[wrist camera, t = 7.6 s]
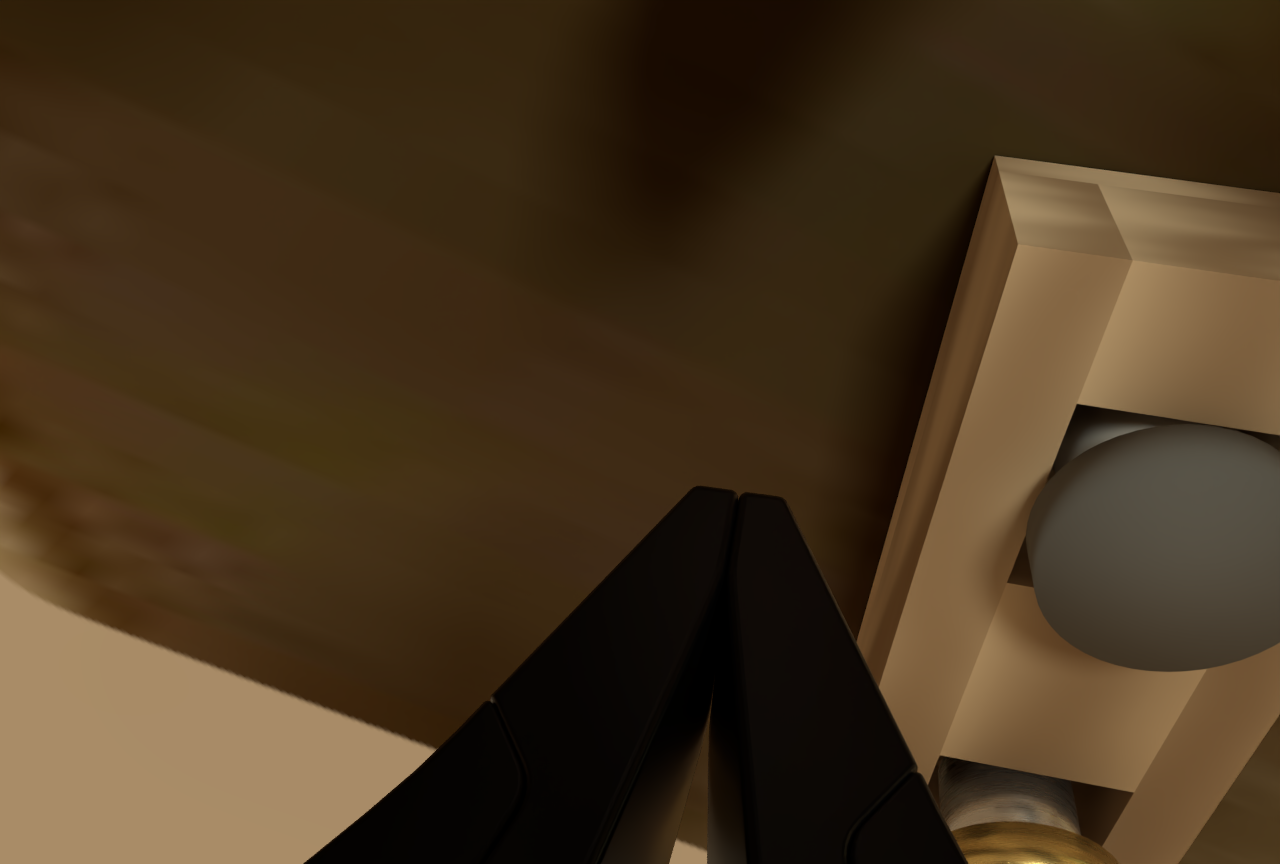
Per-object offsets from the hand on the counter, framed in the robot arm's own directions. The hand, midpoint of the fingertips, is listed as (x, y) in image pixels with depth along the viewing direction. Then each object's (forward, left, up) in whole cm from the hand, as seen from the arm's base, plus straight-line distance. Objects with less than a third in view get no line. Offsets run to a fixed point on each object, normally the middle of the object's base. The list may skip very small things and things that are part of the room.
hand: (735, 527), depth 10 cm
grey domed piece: (-8, +6, -12) cm, 15 cm away
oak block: (-8, +11, -13) cm, 18 cm away
